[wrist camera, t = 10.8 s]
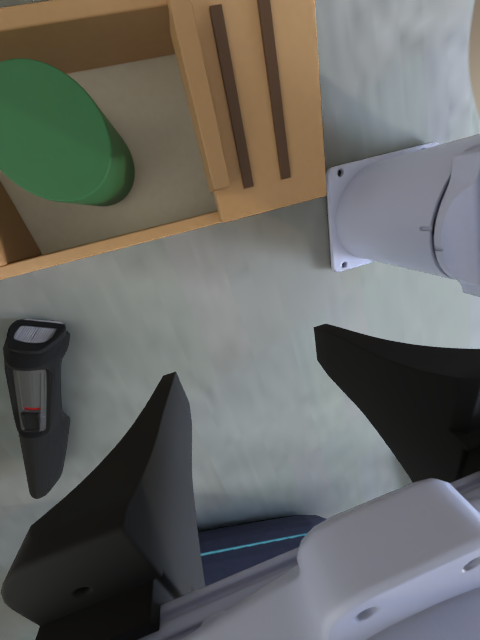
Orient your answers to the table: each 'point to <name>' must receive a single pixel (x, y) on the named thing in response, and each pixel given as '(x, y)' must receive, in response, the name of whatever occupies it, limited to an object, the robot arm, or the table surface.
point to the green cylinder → (59, 138)
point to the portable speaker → (250, 544)
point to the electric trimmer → (38, 398)
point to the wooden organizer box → (173, 117)
